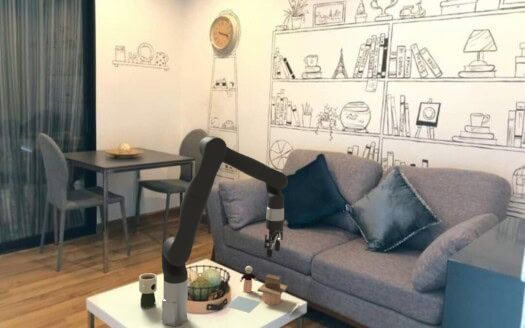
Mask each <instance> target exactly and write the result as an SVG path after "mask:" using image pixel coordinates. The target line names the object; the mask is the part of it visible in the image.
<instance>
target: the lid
mask: <svg viewBox="0 0 525 328" xmlns="http://www.w3.org/2000/svg"><path fill="white" fill-rule="evenodd" d="M264 280H265V282H264V283H263V284H262V285H261V286H259V287H258V288H257V292H259V293H262V294H263V293H267V294H271V295H275V296H280V295H281V296H282V294H283V293H284V292H285V291H286V290H287V289H289V286H288V285H286V284H282V283H281V282H282V281H281V280H282V277H281V276H278V275H274V274H267V275H266V276H265V279H264Z"/></svg>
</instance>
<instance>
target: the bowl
mask: <svg viewBox="0 0 525 328" xmlns="http://www.w3.org/2000/svg"><path fill="white" fill-rule="evenodd" d="M261 297H262V300H261V301H262V302H263V303H264V304H265V305H266V304H267V305H269V306H270V305H271V306H272V305H278V304H280V303H281V302H282V294H281V295H280V296H275V295H271V294H267V293H263V292H262V296H261Z"/></svg>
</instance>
